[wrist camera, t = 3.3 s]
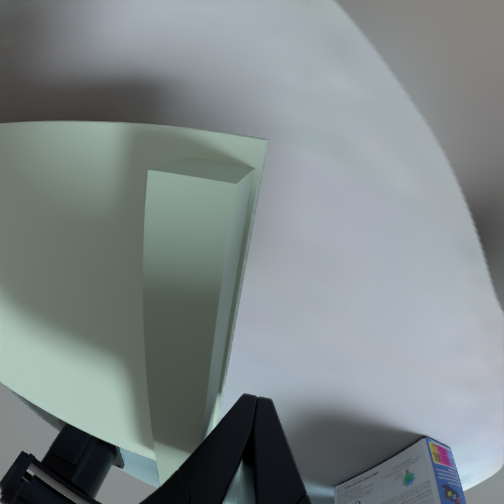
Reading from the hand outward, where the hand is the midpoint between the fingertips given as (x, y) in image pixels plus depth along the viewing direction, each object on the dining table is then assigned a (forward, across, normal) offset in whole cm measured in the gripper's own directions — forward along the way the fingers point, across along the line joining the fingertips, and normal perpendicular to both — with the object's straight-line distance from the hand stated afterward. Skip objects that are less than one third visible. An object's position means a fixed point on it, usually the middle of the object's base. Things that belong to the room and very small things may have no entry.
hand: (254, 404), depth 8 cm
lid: (+1, +9, 0) cm, 9 cm away
